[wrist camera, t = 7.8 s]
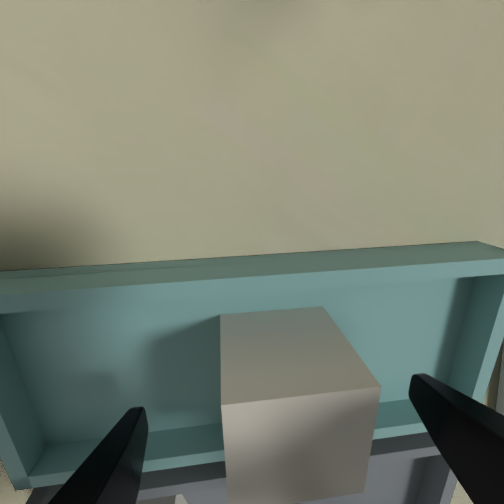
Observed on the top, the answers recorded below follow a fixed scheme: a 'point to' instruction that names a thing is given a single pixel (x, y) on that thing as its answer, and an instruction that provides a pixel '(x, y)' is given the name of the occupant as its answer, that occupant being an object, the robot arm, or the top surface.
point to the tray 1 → (208, 343)
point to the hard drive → (501, 389)
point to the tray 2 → (372, 500)
